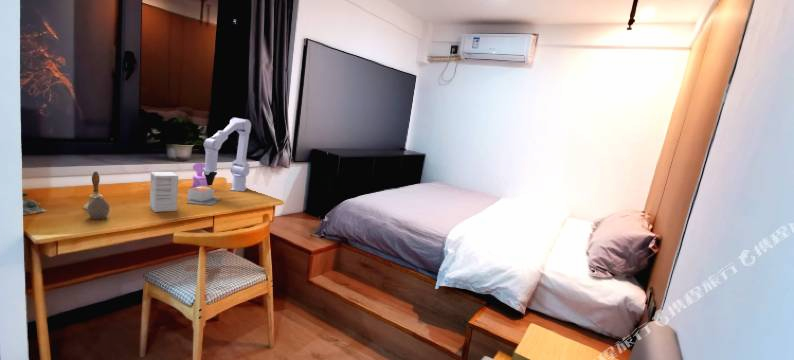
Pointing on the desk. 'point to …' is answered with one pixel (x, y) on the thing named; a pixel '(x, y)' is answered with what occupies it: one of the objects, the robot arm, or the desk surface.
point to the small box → (200, 193)
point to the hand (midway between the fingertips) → (209, 185)
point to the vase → (98, 208)
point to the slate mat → (204, 202)
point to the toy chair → (199, 176)
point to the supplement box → (163, 191)
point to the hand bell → (95, 183)
